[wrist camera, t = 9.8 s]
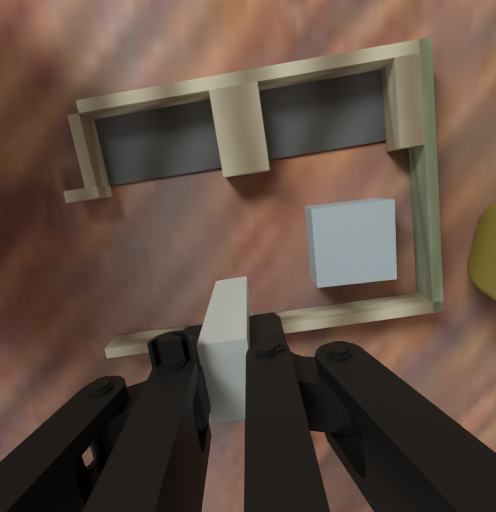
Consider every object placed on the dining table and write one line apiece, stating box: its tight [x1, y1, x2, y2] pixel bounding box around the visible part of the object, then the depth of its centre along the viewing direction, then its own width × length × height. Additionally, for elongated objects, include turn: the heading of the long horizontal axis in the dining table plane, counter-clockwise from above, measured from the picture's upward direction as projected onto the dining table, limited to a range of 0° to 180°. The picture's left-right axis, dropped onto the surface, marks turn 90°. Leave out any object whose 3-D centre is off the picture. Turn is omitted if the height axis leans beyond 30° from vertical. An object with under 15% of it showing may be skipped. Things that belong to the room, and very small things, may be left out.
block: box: [305, 198, 397, 288], centre depth 31 cm, size 7×7×4 cm
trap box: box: [63, 37, 444, 358], centre depth 31 cm, size 32×23×3 cm
